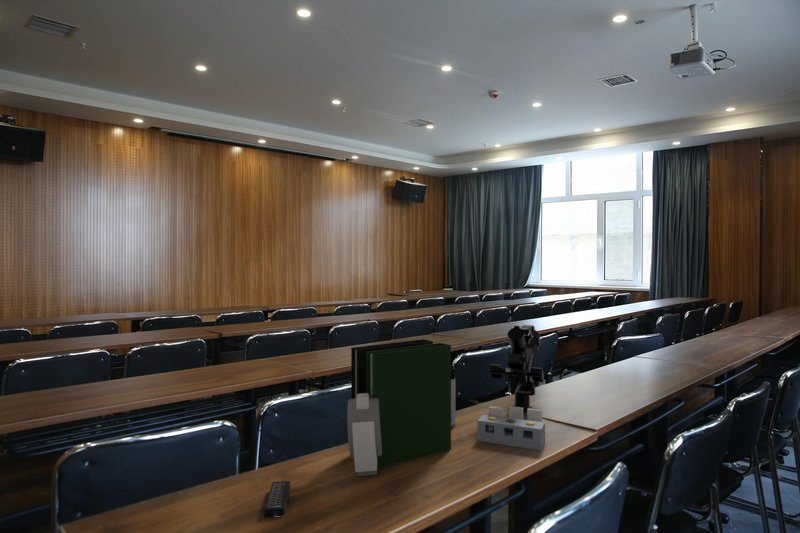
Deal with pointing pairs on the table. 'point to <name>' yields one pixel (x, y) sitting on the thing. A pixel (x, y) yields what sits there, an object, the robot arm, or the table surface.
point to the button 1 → (494, 414)
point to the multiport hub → (277, 499)
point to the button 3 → (534, 416)
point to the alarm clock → (364, 433)
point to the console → (511, 432)
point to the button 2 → (515, 413)
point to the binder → (407, 396)
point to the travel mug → (453, 397)
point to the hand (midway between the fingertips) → (513, 394)
